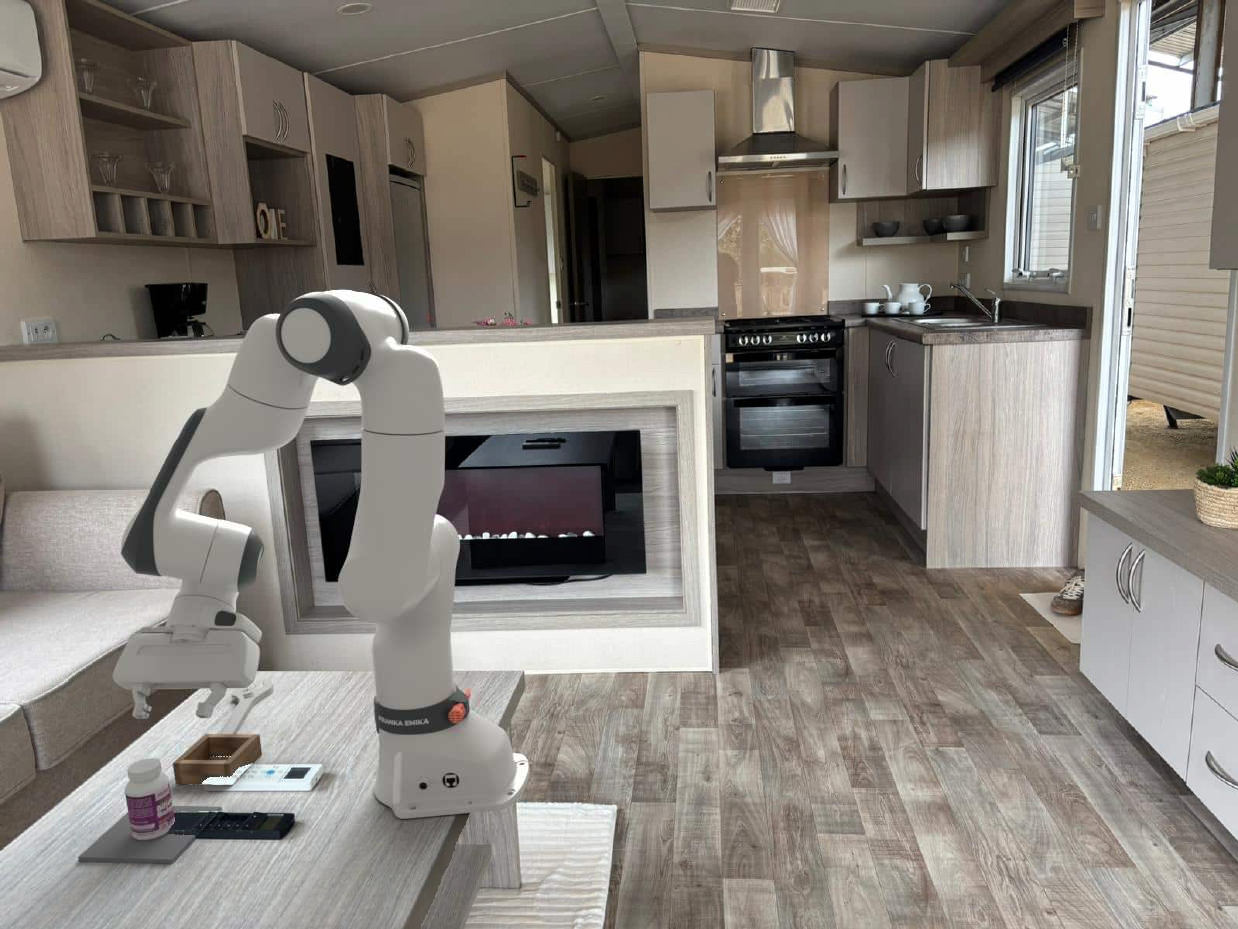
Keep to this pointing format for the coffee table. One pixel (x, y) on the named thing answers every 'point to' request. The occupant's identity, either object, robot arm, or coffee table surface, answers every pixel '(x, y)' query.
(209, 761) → the walnut collar
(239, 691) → the adjustable wrench
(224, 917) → the coffee table surface
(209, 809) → the charcoal mat
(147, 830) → the pill bottle
